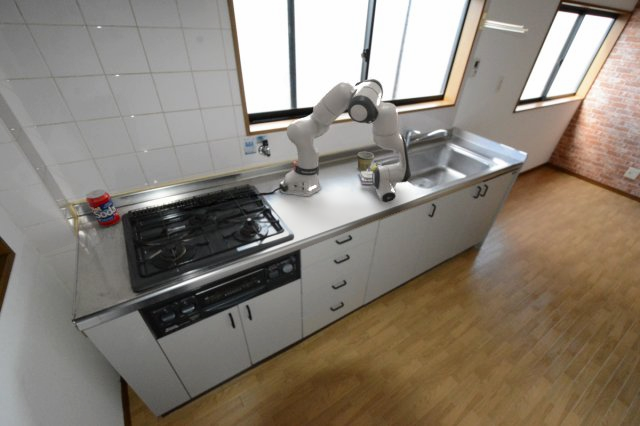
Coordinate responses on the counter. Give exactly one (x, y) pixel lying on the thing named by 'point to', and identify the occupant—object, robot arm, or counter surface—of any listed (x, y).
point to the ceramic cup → (364, 160)
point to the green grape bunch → (375, 167)
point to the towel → (365, 183)
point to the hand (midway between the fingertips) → (375, 170)
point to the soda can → (102, 207)
